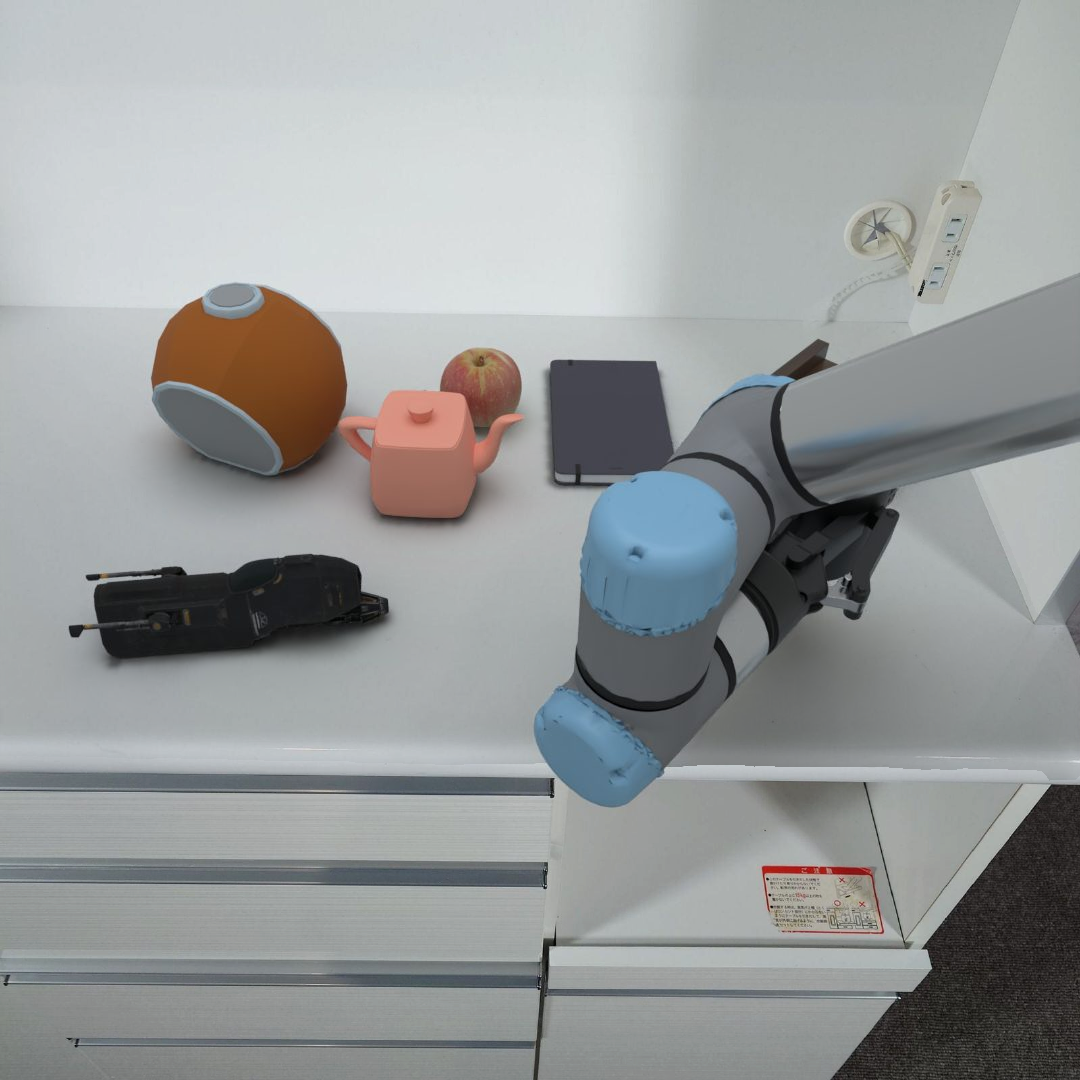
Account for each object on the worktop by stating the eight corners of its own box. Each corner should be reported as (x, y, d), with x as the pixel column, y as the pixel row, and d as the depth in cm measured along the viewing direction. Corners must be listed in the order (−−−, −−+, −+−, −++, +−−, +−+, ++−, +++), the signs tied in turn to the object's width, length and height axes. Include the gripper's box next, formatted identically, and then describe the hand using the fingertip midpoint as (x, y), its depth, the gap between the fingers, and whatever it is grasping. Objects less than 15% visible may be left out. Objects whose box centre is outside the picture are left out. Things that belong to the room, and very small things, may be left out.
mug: (911, 550, 75) (950, 464, 68) (796, 600, 70) (826, 514, 64) (833, 481, 81) (862, 396, 74) (722, 523, 76) (743, 437, 70)
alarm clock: (383, 417, 103) (368, 274, 91) (296, 513, 91) (265, 363, 79) (239, 377, 108) (206, 236, 96) (139, 463, 96) (87, 314, 84)
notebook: (676, 486, 96) (654, 371, 111) (678, 474, 95) (656, 360, 110) (554, 485, 95) (549, 370, 111) (554, 473, 94) (549, 358, 110)
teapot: (356, 449, 99) (345, 366, 91) (524, 457, 99) (526, 374, 91) (335, 521, 90) (321, 437, 83) (519, 530, 90) (520, 446, 83)
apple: (519, 443, 100) (519, 381, 95) (437, 439, 100) (433, 377, 95) (523, 397, 106) (524, 336, 101) (446, 393, 107) (443, 332, 101)
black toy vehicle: (107, 611, 82) (75, 546, 76) (390, 588, 84) (379, 522, 78) (89, 672, 77) (53, 607, 72) (389, 646, 79) (378, 581, 74)
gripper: (630, 600, 67) (797, 453, 80) (808, 712, 60) (958, 532, 73) (641, 524, 62) (816, 380, 75) (836, 637, 55) (992, 457, 68)
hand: (886, 455), depth 74 cm, fingers closed on mug, 1 cm apart
